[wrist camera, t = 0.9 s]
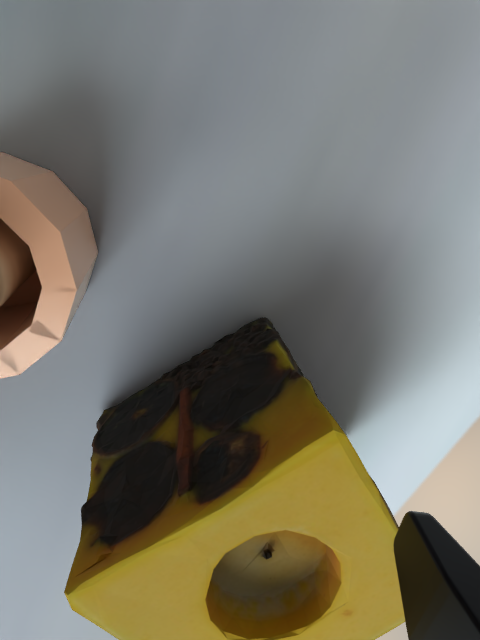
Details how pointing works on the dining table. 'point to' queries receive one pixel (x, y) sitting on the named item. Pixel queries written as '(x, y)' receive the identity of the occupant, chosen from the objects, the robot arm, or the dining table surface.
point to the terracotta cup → (42, 261)
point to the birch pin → (13, 262)
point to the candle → (233, 510)
